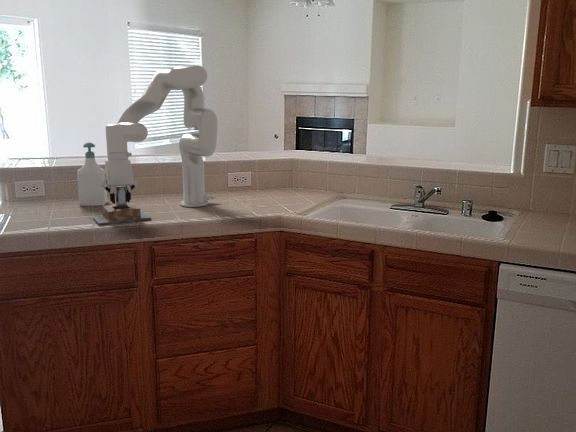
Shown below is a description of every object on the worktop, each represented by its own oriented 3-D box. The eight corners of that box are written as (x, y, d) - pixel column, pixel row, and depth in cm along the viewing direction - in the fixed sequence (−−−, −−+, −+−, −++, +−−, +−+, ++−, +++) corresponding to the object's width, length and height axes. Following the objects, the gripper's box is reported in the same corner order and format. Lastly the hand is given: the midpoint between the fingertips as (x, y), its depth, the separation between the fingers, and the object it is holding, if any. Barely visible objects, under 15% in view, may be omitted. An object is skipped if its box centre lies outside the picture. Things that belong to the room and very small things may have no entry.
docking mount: (143, 213, 226) (142, 201, 225) (151, 219, 216) (150, 207, 215) (92, 219, 217) (91, 206, 216) (98, 225, 206) (97, 213, 205)
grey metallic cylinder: (125, 215, 219) (125, 185, 216) (128, 217, 215) (127, 187, 213) (115, 216, 217) (114, 186, 215) (117, 218, 213) (116, 187, 211)
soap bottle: (108, 201, 250) (104, 141, 244) (105, 205, 242) (100, 143, 236) (83, 201, 249) (78, 141, 242) (79, 205, 241) (74, 143, 234)
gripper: (137, 154, 218) (140, 198, 222) (92, 156, 210) (96, 202, 214) (142, 156, 211) (145, 202, 216) (96, 158, 203) (100, 206, 208)
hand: (120, 201), depth 215 cm, fingers open, 5 cm apart
